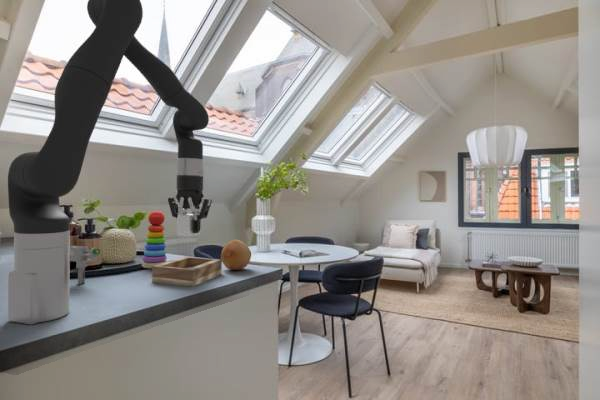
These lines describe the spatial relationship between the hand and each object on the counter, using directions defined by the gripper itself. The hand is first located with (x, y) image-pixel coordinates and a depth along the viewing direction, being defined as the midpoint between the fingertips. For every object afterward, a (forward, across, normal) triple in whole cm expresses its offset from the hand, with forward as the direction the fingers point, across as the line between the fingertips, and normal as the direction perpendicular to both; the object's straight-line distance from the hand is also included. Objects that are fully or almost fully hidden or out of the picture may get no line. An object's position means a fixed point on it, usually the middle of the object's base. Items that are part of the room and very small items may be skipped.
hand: (189, 232), depth 107 cm
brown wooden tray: (+14, 0, 0) cm, 14 cm away
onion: (+14, +8, +15) cm, 22 cm away
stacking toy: (+14, -19, +9) cm, 25 cm away
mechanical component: (+14, -23, -16) cm, 31 cm away
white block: (+1, 0, 0) cm, 1 cm away
